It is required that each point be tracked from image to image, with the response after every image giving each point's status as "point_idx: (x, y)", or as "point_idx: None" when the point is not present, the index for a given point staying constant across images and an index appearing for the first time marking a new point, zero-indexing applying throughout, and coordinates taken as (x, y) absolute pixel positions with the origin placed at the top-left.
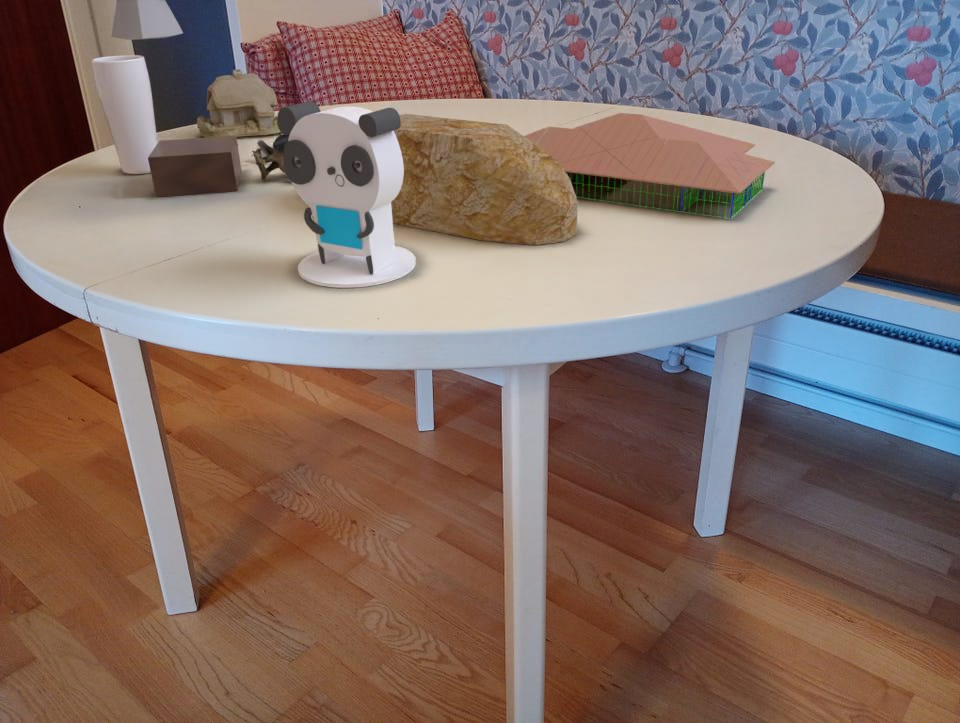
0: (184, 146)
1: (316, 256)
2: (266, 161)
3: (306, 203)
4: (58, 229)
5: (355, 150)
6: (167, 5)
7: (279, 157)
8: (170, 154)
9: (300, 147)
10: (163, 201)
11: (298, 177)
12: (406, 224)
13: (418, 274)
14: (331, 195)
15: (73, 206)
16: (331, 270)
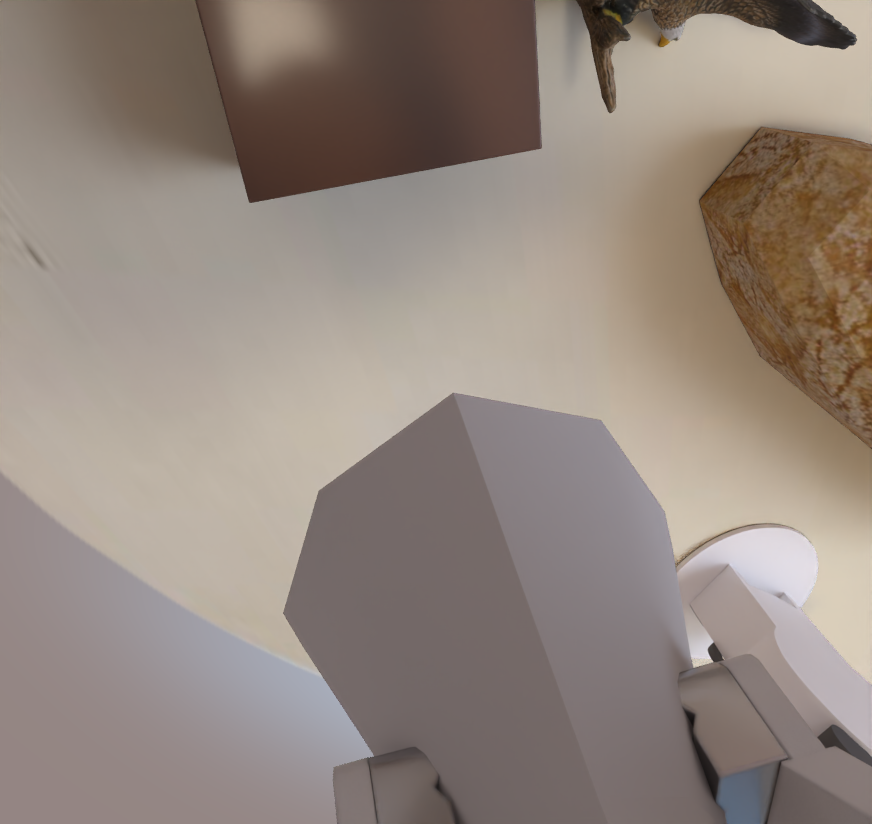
0: (332, 6)
1: (684, 580)
2: (623, 25)
3: None
4: (109, 445)
5: None
6: (685, 642)
7: (673, 4)
8: (322, 161)
9: None
10: (292, 215)
11: None
12: (852, 432)
13: (802, 610)
14: None
15: (4, 247)
16: (699, 623)
